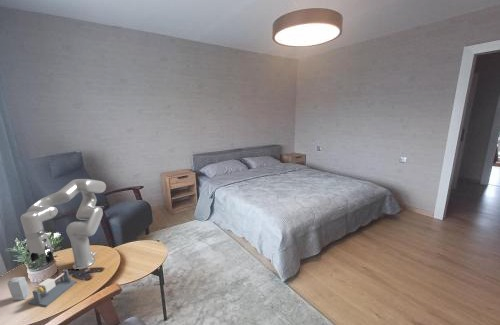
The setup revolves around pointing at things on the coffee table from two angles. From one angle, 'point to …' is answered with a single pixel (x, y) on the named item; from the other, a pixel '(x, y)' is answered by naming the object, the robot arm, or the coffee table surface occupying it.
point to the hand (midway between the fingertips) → (42, 260)
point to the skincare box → (18, 288)
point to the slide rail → (52, 290)
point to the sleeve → (47, 284)
